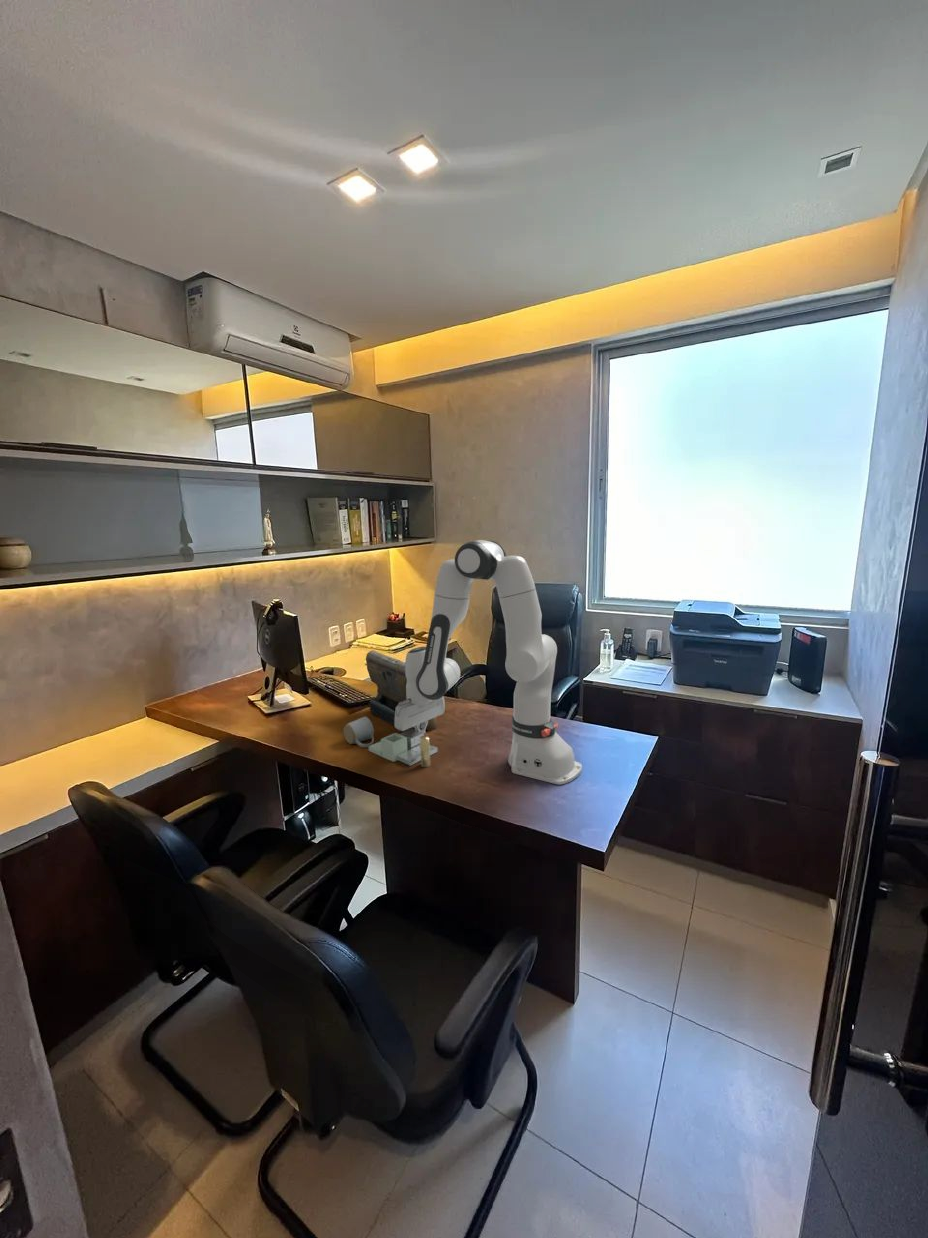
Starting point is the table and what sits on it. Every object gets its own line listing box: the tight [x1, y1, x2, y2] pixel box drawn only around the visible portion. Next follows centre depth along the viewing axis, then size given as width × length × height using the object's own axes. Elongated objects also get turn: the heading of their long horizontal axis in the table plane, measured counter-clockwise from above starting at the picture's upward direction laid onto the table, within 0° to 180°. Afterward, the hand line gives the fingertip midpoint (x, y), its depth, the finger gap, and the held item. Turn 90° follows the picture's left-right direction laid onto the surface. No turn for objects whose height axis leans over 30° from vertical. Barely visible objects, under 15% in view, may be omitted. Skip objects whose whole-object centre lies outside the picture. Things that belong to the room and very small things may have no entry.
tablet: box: [365, 649, 437, 732], centre depth 182 cm, size 33×14×25 cm, turn 45°
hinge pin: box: [420, 735, 431, 768], centre depth 149 cm, size 3×3×9 cm
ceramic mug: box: [343, 716, 375, 749], centre depth 165 cm, size 11×8×8 cm
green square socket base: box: [368, 732, 407, 763], centre depth 160 cm, size 12×12×6 cm
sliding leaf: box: [396, 729, 438, 766], centre depth 157 cm, size 12×12×5 cm
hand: (420, 734), depth 164 cm, fingers closed
